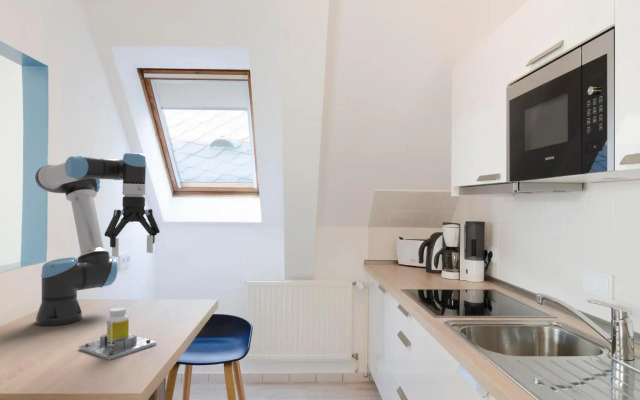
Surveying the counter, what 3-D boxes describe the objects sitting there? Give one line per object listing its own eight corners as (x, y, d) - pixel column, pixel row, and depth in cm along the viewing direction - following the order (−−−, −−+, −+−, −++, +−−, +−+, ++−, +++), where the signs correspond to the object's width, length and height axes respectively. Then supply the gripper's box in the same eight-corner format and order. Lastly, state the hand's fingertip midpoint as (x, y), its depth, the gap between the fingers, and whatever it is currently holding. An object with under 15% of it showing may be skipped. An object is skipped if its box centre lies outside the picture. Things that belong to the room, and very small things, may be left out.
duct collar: (79, 349, 134) (79, 338, 134) (126, 335, 148) (126, 325, 148) (109, 360, 126) (109, 348, 126) (156, 344, 139) (156, 333, 139)
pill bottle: (132, 341, 139) (132, 307, 139) (120, 348, 133) (120, 312, 133) (115, 340, 140) (115, 306, 140) (102, 346, 134) (102, 311, 134)
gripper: (106, 196, 144) (105, 259, 144) (169, 196, 165) (168, 252, 165) (94, 195, 148) (93, 257, 149) (157, 196, 169) (156, 250, 169)
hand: (133, 254), depth 157 cm, fingers open, 13 cm apart
